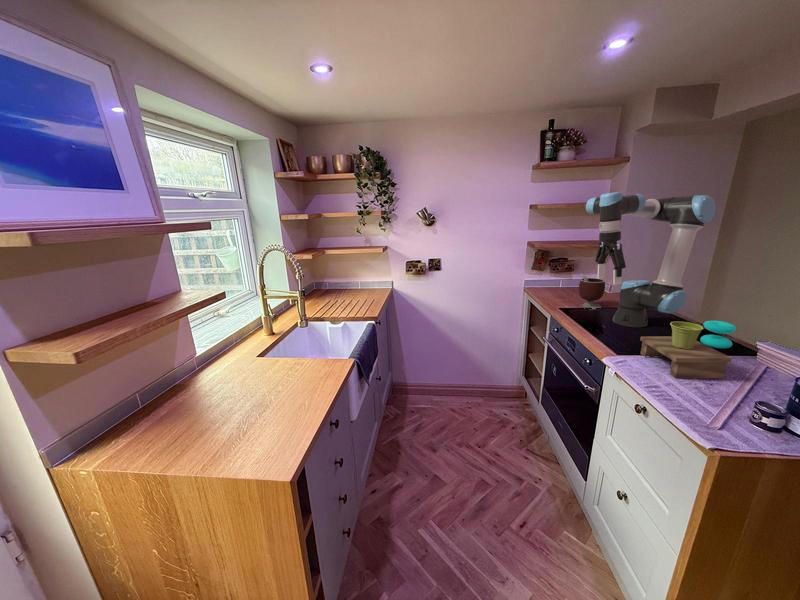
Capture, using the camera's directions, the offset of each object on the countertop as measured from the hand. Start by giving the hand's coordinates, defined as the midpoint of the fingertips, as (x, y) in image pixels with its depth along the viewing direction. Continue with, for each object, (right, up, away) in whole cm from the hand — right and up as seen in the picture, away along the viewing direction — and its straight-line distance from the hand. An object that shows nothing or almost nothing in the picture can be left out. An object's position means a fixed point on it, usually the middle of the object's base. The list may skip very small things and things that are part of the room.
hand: (608, 281), depth 134 cm
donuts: (+49, -28, +4) cm, 57 cm away
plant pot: (+19, -26, -14) cm, 35 cm away
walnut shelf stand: (+20, -34, -12) cm, 41 cm away
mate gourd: (+30, -12, +64) cm, 71 cm away
